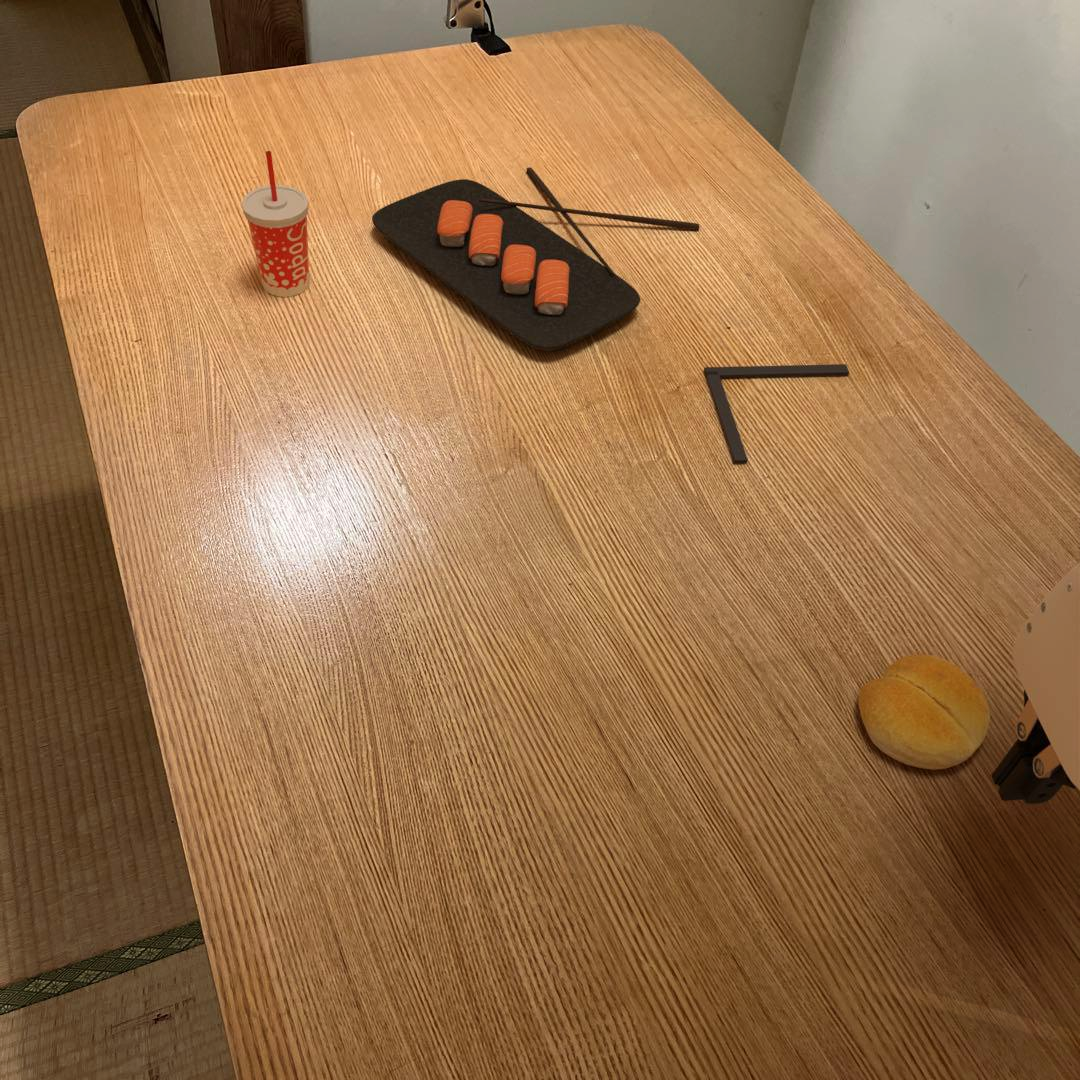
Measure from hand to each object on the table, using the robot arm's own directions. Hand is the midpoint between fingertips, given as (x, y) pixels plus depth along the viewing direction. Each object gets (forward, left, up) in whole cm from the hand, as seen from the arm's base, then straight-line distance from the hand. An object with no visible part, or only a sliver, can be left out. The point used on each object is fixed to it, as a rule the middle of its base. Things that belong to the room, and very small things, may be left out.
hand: (1019, 787), depth 64 cm
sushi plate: (+19, -70, -9) cm, 73 cm away
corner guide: (0, -42, -9) cm, 43 cm away
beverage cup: (+47, -64, -9) cm, 80 cm away
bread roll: (0, -10, -9) cm, 14 cm away
